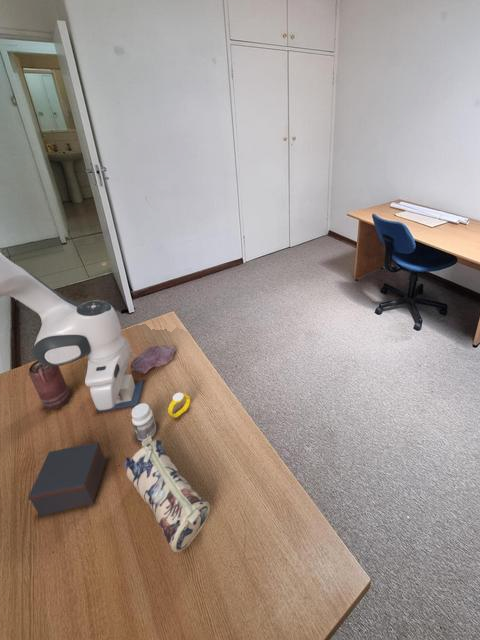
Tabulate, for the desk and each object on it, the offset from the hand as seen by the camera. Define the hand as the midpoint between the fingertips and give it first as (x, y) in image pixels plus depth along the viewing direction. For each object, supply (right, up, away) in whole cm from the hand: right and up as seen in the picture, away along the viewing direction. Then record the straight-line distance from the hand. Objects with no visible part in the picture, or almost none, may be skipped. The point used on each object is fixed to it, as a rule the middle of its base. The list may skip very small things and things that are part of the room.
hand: (120, 391), depth 93 cm
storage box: (+1, -12, -20) cm, 23 cm away
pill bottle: (+12, -6, -9) cm, 16 cm away
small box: (0, -1, +1) cm, 2 cm away
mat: (0, -2, +1) cm, 2 cm away
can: (-17, -3, -1) cm, 17 cm away
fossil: (+4, +3, +12) cm, 13 cm away
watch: (+19, -4, -4) cm, 19 cm away
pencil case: (+23, -13, -23) cm, 35 cm away
